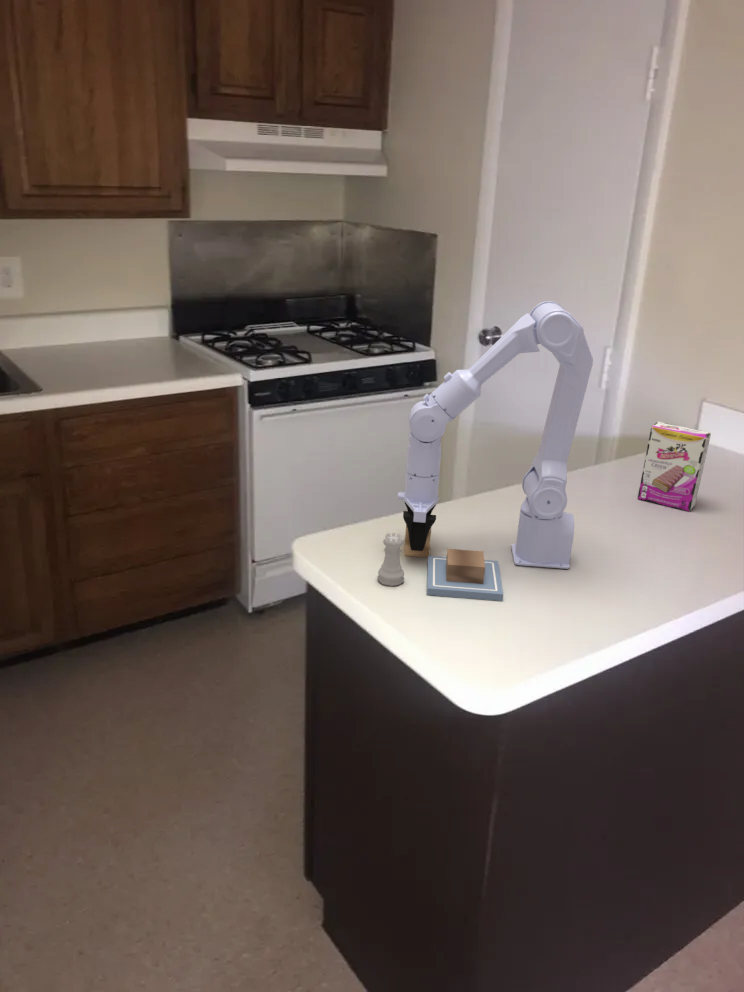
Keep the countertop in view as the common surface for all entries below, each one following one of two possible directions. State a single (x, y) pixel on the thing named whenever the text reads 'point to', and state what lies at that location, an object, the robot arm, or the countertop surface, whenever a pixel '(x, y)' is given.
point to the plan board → (467, 585)
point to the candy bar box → (673, 465)
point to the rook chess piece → (391, 562)
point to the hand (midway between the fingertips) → (417, 543)
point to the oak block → (417, 553)
